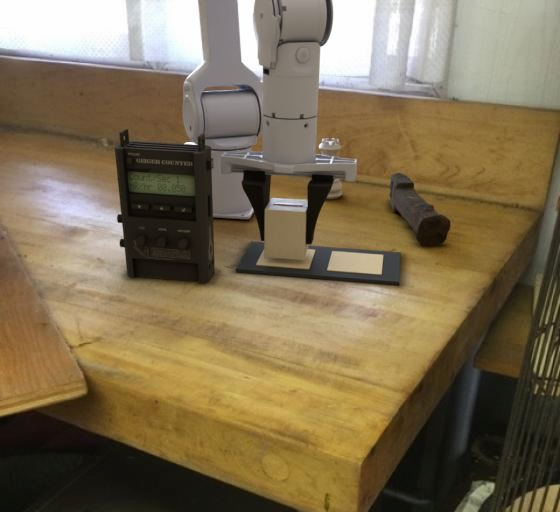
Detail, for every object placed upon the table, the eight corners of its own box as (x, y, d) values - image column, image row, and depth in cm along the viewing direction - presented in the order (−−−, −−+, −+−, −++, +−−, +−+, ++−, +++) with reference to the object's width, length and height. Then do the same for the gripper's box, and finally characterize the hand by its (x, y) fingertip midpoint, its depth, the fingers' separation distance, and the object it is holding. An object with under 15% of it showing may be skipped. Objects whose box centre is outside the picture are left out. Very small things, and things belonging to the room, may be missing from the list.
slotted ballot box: (264, 257, 78) (264, 208, 75) (271, 243, 82) (271, 196, 79) (303, 260, 78) (305, 211, 75) (308, 246, 81) (310, 199, 79)
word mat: (235, 272, 77) (235, 268, 77) (251, 244, 85) (251, 240, 85) (399, 285, 75) (399, 281, 75) (400, 255, 83) (400, 251, 82)
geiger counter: (114, 279, 75) (98, 135, 67) (129, 264, 79) (116, 126, 71) (209, 288, 73) (204, 141, 66) (219, 271, 77) (215, 131, 70)
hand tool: (448, 247, 85) (454, 210, 83) (416, 247, 85) (421, 210, 83) (410, 201, 102) (413, 169, 99) (383, 201, 101) (386, 169, 99)
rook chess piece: (322, 189, 106) (325, 135, 102) (348, 194, 104) (351, 139, 100) (306, 196, 103) (308, 140, 99) (332, 201, 100) (335, 145, 96)
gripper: (212, 118, 70) (216, 247, 77) (357, 125, 68) (348, 257, 75) (228, 105, 76) (230, 226, 83) (361, 112, 74) (352, 235, 81)
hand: (286, 239), depth 79 cm, fingers closed on slotted ballot box, 4 cm apart
